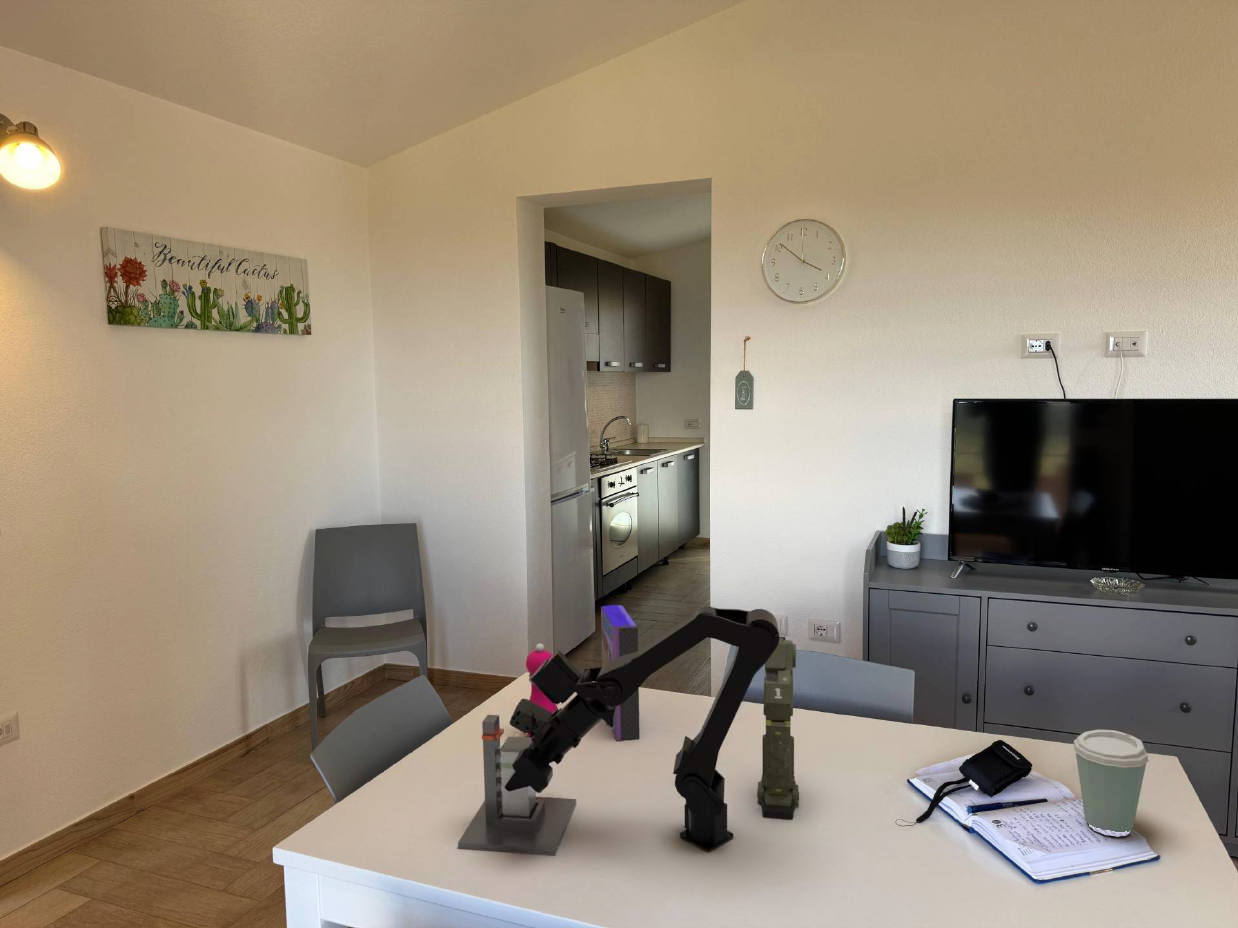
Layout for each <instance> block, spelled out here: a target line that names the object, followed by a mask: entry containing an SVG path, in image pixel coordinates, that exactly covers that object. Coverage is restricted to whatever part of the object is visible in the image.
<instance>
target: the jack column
mask: <svg viewBox="0 0 1238 928" xmlns="http://www.w3.org/2000/svg"><path fill="white" fill-rule="evenodd" d="M525 748H532V749H533V748H534V742H533V741H532V740H531V738H528V736H527V737H525V736H523V737H522V736H507V738H506V740H504V742H503V744H502V745H501V746H500V749H501V777H502V806H503V817H511V818H526V819H531V817H532V815H533V813H534V811H535V809H536V797H537V792H536V791H535V790H534V789H533V788H532V787H531V786H528V787H524V788H521V789H517V790H513V791H510V792H509V791H507V790H506V789H505V785H506V784H507V782H508V781H509V779H510V778H511V777H512V775H513V774H514V772H515V770H514V769H513V766H512V764H513V763H514V761H515V759H516V758H517V756H518V754H519V753H520V751H523V750H524V749H525Z"/></svg>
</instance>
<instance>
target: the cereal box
mask: <svg viewBox="0 0 1238 928" xmlns="http://www.w3.org/2000/svg"><path fill="white" fill-rule="evenodd" d="M600 609H601V610H600V611H601V612H600V613H601V618H600V619H601V654H602V655H601V659H602V660H601V665H602V666H604V665H605V664H606V663H607V662H609V661H612V660H614V659H616V658H619V657H621V656H623V655H626V654H631V653H634V652H637V651H639V627H638V626H637V624H636V623H635V621H634V620H633V619H632V617H631V616H630V614H629V613H628V611H626V609H625V607H624V606H623V605H618V604H617V605H616V604H615V605H614V604H612V605H603V606H600ZM602 666H601V667H602ZM616 716H617V718H616V720H615V723H614V726H613V727H610V728H612V729H611V732H612V733H613V735H614V737H615V740H616V742H617V741H618V742H627V741H636V740H637V741H638V740H640V739H641V738H640V687H639V688H638V689H637V690H636V691H635V692H634V693H633V694H632V695H631V696H630V697H629V698H628V699H627V700H626V701H625V702H624V703H623V704H621V705H619V706H617V708H616Z"/></svg>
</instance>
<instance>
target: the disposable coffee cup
mask: <svg viewBox="0 0 1238 928" xmlns="http://www.w3.org/2000/svg"><path fill="white" fill-rule="evenodd" d="M1072 746H1073V751H1074V753H1075V757H1076V765H1077V770H1078V777H1079V786H1080V791H1081V799H1082V805H1083V806H1082V807H1083V815H1084V819H1086V820H1085V822H1086V821H1087V822H1088V823H1089V824H1090V825H1092V826H1094V827H1096V828H1100V829H1103V830H1110V831H1115V832H1125V831H1127V832H1129V831H1130V830H1131V831H1133V830H1134V825H1135V820H1136V816H1137V811H1138V806H1139V801H1140V796H1141V790H1142V786H1143V780H1144V778H1145V777H1144V776H1145V771H1146V766H1147V763H1148V762H1149V755H1148V753H1147V751H1146V749H1145V746H1144V743H1143V742H1142V740H1141V739H1139V738H1137V737H1135V736H1133V735H1131V734H1128V733H1125V732H1121V731H1118V730H1115V729H1113V730H1112V729H1111V730H1110V729H1093V730H1087V731H1084V732H1082V733H1081V734H1080V735H1078V736H1077V738H1076V739H1074V740H1073V745H1072Z"/></svg>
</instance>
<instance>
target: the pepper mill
mask: <svg viewBox="0 0 1238 928" xmlns="http://www.w3.org/2000/svg"><path fill="white" fill-rule="evenodd" d="M553 655H554V654H552V653H551V652H550V651H548V650H545V646H544V644H543V643H538V644H536V645H535V650H534V651H532V652H530V653H529V654H528V656H527V657H526V660H525V661H526V662H525V667H526V670H527V671H528V672H529V674H528V682H529V683H530V685H531V687H530V689H531V690H530V697H529V699H528V700H530V701H532V702H534V703H536V704H538V705H540V706H542V707H544V708H545V709H546V710H548V711H549V712H551V713H553V712H554V711H555V710H556V709H559V708H558V705H557V704H556V703H554V704H553V703H552V702H551V701H550V700H549V699H548V698H547V697H546V696H545V695H544V694H543V693H542V692H541V691H540V690H539V689H538V688H537V687H536V686H535V685H534V684H533V683H532V682H531V681H530V680H529V679H530V677H531V676H532V675H533V674H534V673H535V671H536V670H537V669H538V668H539V667H540V666H541V665H542V664H543V663H544V662H545V661H546V660H547V659H550V658H551V657H552V656H553ZM526 734H527V738H530V735H531V734H529V733H526Z"/></svg>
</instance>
